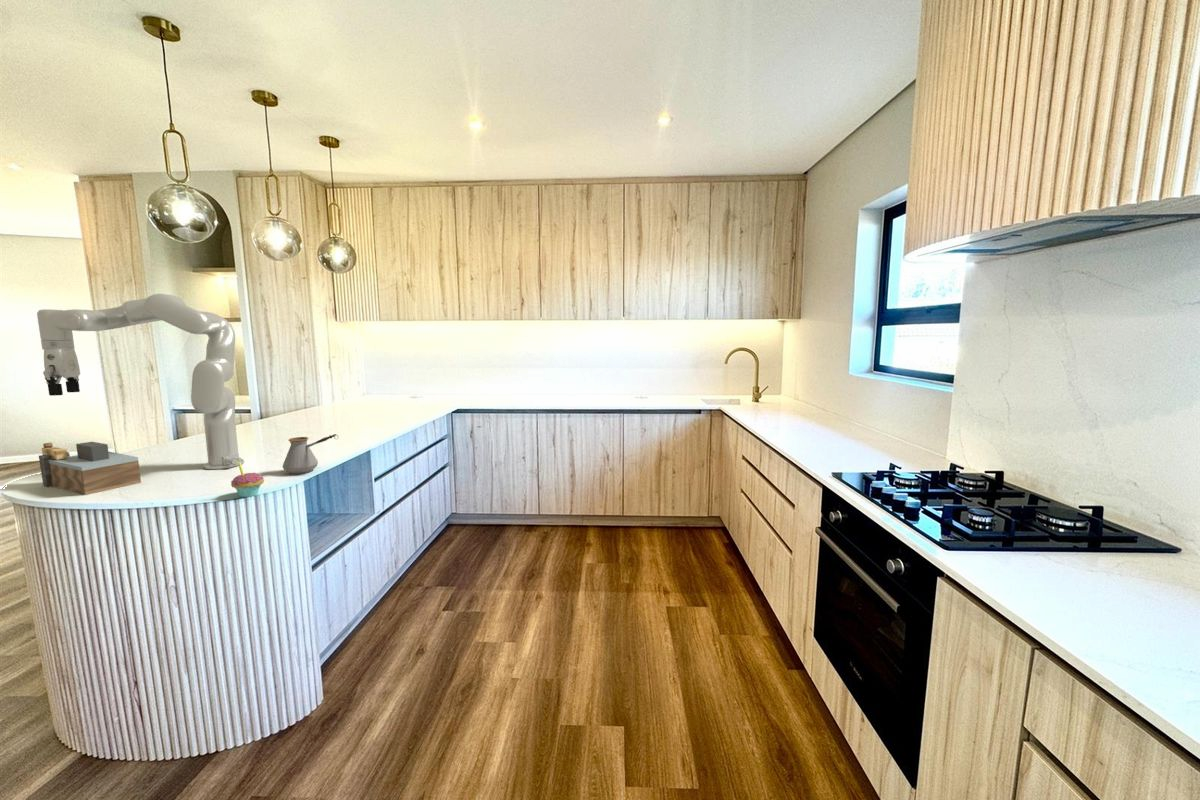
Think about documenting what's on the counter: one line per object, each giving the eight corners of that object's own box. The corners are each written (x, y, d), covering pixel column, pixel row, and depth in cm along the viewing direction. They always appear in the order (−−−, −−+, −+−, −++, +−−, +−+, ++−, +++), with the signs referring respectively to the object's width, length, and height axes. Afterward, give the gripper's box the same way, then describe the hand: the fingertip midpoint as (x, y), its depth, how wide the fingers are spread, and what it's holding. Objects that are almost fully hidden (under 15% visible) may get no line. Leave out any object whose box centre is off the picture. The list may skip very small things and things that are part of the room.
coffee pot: (275, 475, 173) (272, 435, 171) (297, 466, 185) (294, 429, 183) (329, 477, 172) (326, 437, 170) (349, 468, 183) (346, 431, 181)
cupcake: (239, 501, 147) (235, 463, 145) (227, 496, 151) (223, 459, 149) (269, 493, 154) (266, 457, 152) (258, 488, 158) (254, 454, 157)
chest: (141, 482, 164) (137, 453, 162) (80, 496, 150) (76, 463, 148) (103, 474, 173) (99, 446, 172) (43, 486, 159) (38, 455, 158)
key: (67, 458, 159) (65, 445, 159) (57, 459, 157) (55, 446, 156) (53, 454, 163) (51, 442, 162) (42, 456, 161) (40, 443, 160)
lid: (138, 463, 163) (136, 442, 162) (82, 473, 150) (79, 452, 149) (105, 456, 171) (102, 437, 170) (49, 466, 158) (46, 445, 157)
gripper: (57, 345, 158) (64, 396, 160) (87, 344, 173) (93, 390, 176) (25, 345, 155) (33, 397, 157) (59, 344, 170) (65, 391, 173)
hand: (65, 393), depth 166 cm, fingers open, 9 cm apart
